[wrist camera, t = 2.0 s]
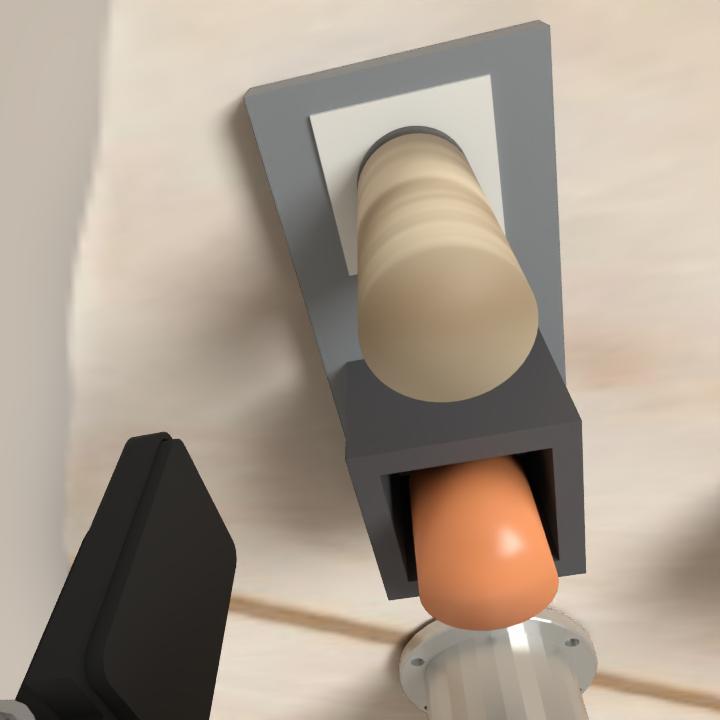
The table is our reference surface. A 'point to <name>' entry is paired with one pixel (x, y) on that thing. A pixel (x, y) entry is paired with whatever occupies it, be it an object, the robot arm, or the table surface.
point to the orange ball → (480, 544)
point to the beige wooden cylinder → (436, 273)
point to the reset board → (340, 270)
